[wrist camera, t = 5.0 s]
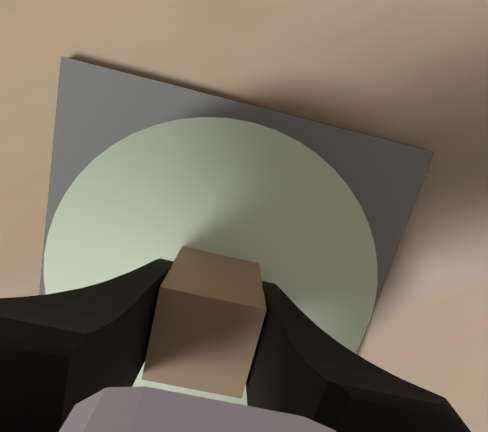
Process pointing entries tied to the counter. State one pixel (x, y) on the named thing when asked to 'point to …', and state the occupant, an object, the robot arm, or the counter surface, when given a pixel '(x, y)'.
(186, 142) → the lid
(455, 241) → the counter surface
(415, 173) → the mat
